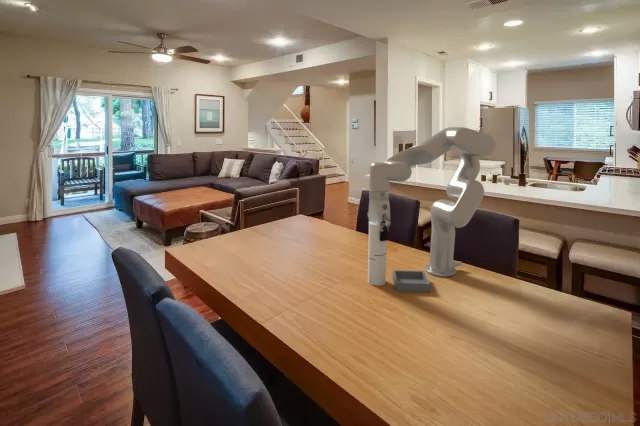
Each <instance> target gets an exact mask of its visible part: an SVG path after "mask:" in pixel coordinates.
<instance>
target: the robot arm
mask: <svg viewBox="0 0 640 426" xmlns="http://www.w3.org/2000/svg"><path fill="white" fill-rule="evenodd" d="M496 142H497V141H496V140H495V138H494V137H493V136H491V135H490V134H488V133H484V132H482V131H477V130H474V129H471V128H468V127H464V126H460V127H459V126H454V127H453V126H452V127H450V126H449V127H446V128H444V129H442V130H440V131H437V133H434V135H432V136H430V137H428V138H427V139H426V140H424V141H422V142H420V143H418V144H416V145H413V146H411V147H408V148H407V149H403V150H401V151H399V152H397V153H396V154H394V155H392V156H390V157H389V158H388V159H386V160H385V161H384V162H381V161H380V162H379V161H377V162H372V163H370V166H369V186H368V187H369V188H368V190H369V192H368V194H369V195H368V199H369V201H368V211H367V212H366V213H367V220H368V222H367V224H368V227H367V228H368V233H367V235H369V222H370V221H371V222H373V223H375V224H377V225H380V229H381V231H380V241H387V242H388V239H389V230H390V227H391V206H390V199H389V198H390V182H396V183H397V182H399V183H400V182H401V183H402V182H405V181H408V180H409V179H410V178H411V176H412V174H413V173H412V172H413V171H412V167H413V166H418V165H426V164H429V163H432V162H434V161H436V160H437V159H439V158H441V156H443V155H445V154H447V153H448V152H450V151H451V150H457V153H458V156H459V164H458V166H457V168H456V170H455V172H454V174H453V175H452V178H451V179H450V180H449V182H448V184H447V186H446V189H445V193H446V196H447V197H449V198H450V199H452V200H449V199H442V198H441V199H437V200H436V201H434V202H433V203H432V205H431V208H430V211H429V212H430V221H431V235H430V250H429V251H430V253H429V264H427V265H426V266H425V272H427V274H429V275H433V276H436V277H442V278H443V277H447V278H448V277H452V276H455V275H456V273H457V270H456V267H461V266H463V262H462V261H456V260H454V253H455V241H456V240H455V239H456V229H457V228H458V229H461V228H464V227H465V226H467V224H469V223H470V221H471V220H472V218H473V216H474V214H475V213H476V211H477V209H478V207H479V206H480V204H481V202H482V200H483V198H484V194H485V188H484V185H483V183H482V182H480V180H479V181H478V180H477V177H478V176H479V173H480V170H481V162H480V159H479V158H480V157H482V158H487V157H489V156H490V155H491V156H492V155H493V154H494V152H495V150H496V148H497V143H496ZM453 200H455V201H456V202H455V201H453ZM384 225H385V226H384ZM383 226H384V227H383Z"/></svg>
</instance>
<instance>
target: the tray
mask: <svg viewBox="0 0 640 426" xmlns="http://www.w3.org/2000/svg"><path fill="white" fill-rule="evenodd" d="M392 282H393V286H394V289H395V292H400V293H401V292H403V293H404V292H405V293H407V292H408V293H430V290H431V289H430V288H431V283H430V281H429V279H428V277H427V274H426V272H425V271H424V270H401V269H400V270H399V269H397V270H396V269H393V270H392Z"/></svg>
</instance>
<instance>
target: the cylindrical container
mask: <svg viewBox="0 0 640 426" xmlns="http://www.w3.org/2000/svg"><path fill="white" fill-rule="evenodd" d="M368 226H369V234H368V247H367V249H368V251H367V253H368V256H367V283H368V284H369V285H371V286H375V287H376V286H377V287H379V286H383V285H385V284H386V276H387V274H386V273H387V271H386V270H387V249H388V248H387V245H388V240H387V241H380V231H381V229H380V225H377V224H375V223H373V222H371V221H370V222H369V224H368ZM384 226H385V225H384ZM384 226H383V227H384Z"/></svg>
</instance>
